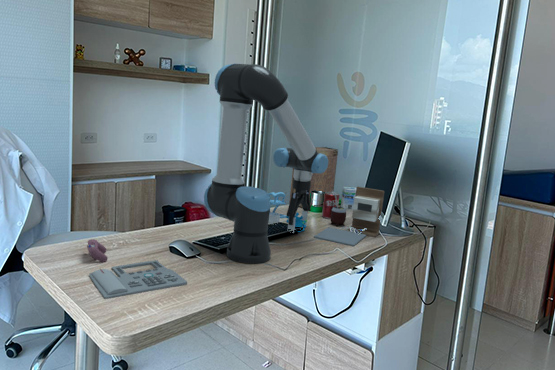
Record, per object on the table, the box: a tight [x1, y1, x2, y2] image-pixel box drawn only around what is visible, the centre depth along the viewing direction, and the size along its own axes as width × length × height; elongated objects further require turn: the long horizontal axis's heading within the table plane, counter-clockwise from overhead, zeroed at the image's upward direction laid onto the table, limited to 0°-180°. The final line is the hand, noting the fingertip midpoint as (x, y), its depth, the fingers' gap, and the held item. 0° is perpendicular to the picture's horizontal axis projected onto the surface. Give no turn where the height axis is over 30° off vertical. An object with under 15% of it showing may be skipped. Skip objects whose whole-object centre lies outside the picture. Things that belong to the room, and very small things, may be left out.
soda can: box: [321, 191, 340, 220], centre depth 227 cm, size 7×7×12 cm
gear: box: [285, 211, 308, 233], centre depth 202 cm, size 11×6×10 cm
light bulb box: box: [340, 186, 356, 210], centre depth 252 cm, size 11×7×11 cm, turn 95°
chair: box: [267, 191, 287, 219], centre depth 221 cm, size 8×8×12 cm
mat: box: [313, 226, 367, 247], centre depth 197 cm, size 18×17×1 cm
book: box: [288, 146, 339, 208], centre depth 252 cm, size 25×9×30 cm, turn 136°
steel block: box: [268, 211, 281, 225], centre depth 210 cm, size 5×5×4 cm
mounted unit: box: [347, 186, 385, 238], centre depth 205 cm, size 8×12×19 cm, turn 64°
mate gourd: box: [330, 191, 347, 228], centre depth 215 cm, size 8×8×15 cm
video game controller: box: [86, 238, 108, 263], centre depth 150 cm, size 10×5×7 cm, turn 22°
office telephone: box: [89, 259, 188, 300], centre depth 137 cm, size 23×3×20 cm
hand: (297, 228), depth 201 cm, fingers open, 13 cm apart
